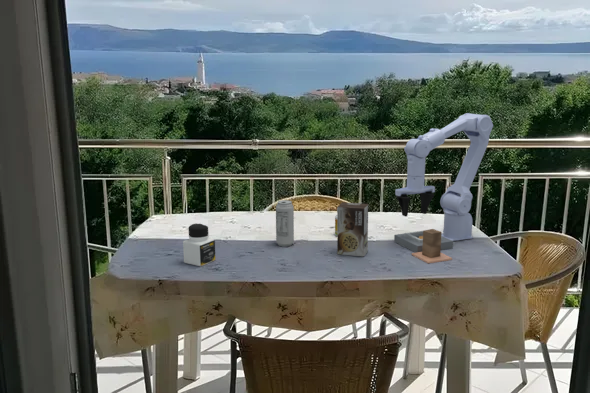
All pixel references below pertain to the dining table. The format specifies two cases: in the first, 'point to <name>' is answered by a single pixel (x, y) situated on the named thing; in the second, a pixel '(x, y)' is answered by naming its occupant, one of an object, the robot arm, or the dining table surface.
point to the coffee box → (352, 229)
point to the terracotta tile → (431, 260)
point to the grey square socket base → (418, 241)
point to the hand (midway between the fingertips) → (414, 214)
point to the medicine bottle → (199, 246)
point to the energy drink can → (284, 223)
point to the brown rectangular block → (431, 243)
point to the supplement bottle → (336, 225)
